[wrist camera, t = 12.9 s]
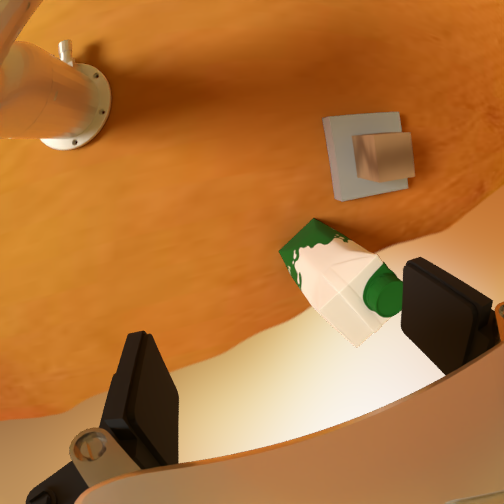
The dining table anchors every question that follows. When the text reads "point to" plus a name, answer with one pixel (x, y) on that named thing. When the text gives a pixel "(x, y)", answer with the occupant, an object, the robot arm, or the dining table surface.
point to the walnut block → (384, 156)
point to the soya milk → (343, 281)
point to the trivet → (343, 153)
